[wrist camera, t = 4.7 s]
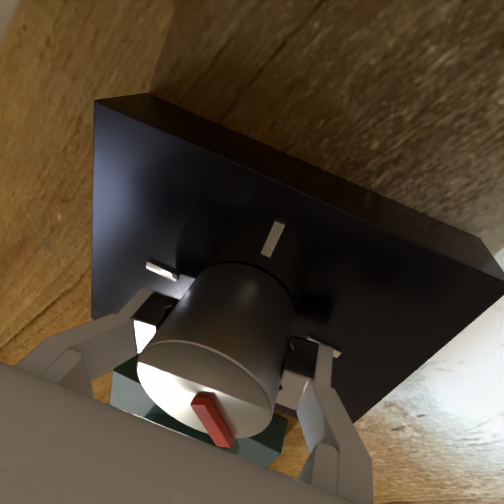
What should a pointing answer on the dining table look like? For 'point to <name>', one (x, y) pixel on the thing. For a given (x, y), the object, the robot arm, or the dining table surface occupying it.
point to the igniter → (139, 403)
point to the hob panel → (279, 242)
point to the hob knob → (221, 353)
